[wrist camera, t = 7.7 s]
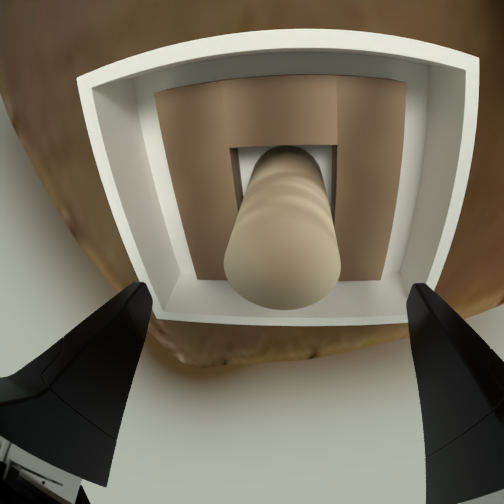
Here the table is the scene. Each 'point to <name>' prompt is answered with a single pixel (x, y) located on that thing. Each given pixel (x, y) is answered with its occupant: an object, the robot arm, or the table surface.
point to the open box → (280, 63)
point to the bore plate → (286, 133)
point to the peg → (284, 234)
